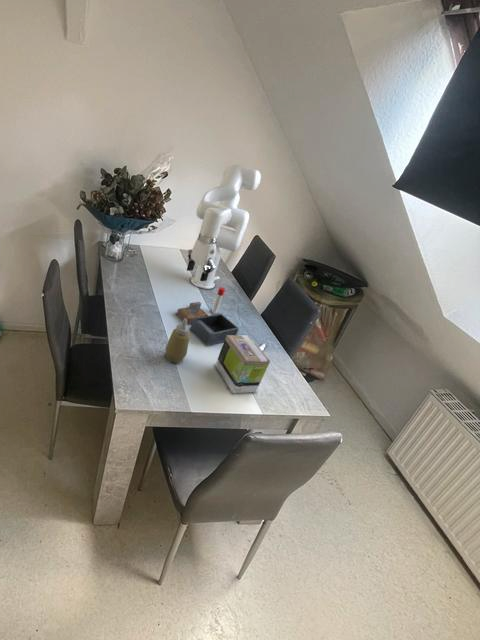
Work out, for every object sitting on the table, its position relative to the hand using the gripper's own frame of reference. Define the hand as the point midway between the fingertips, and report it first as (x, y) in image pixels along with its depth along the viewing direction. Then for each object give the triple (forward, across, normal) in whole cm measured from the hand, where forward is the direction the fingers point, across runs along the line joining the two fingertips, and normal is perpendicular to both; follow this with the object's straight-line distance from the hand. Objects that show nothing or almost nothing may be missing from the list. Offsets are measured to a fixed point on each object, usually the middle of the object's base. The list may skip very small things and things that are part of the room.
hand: (196, 275), depth 166 cm
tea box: (+20, -43, +8) cm, 48 cm away
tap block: (+19, -4, 0) cm, 20 cm away
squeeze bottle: (+20, -26, +24) cm, 41 cm away
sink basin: (+19, -18, -2) cm, 26 cm away
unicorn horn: (+20, -36, -9) cm, 42 cm away
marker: (+19, -3, -14) cm, 24 cm away
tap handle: (+16, -4, 0) cm, 17 cm away
